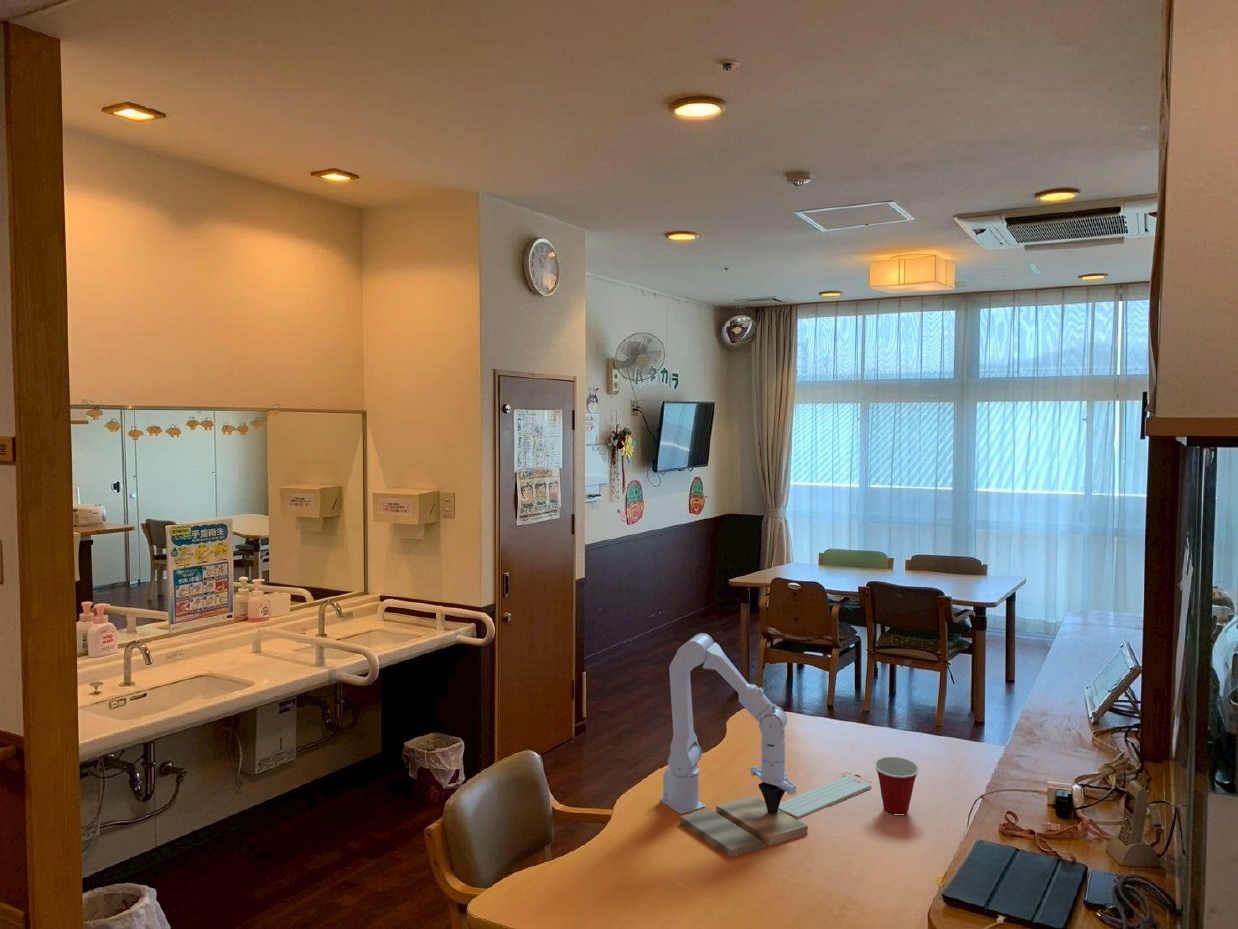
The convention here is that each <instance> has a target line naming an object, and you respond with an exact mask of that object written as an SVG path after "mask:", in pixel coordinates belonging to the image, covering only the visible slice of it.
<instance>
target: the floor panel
mask: <svg viewBox="0 0 1238 929" xmlns="http://www.w3.org/2000/svg"><path fill="white" fill-rule="evenodd" d="M679 824H680V825H681V824H682V825H681V826H683V827H684V828H686V829H687V830H689V829H690V830H691V831H690V830H689V831H690V832H692V833H693V832H694V833H693V834H695V835H696V834H697V836H698V837H699V836H700V837H699V838H701V839H702V840H703V841H705V840H706V841H705V842H707V841H708V842H709V843H708V842H707V843H708V844H709V845H711V846H713V847H714V846H715V847H716V849H717V850H718V849H719V851H720V850H721V851H722V852H721V851H720V852H721V853H722V854H724V853H725V854H724V855H726V856H727V855H728V857H729V856H730V857H731V859H733V858H732V857H734V858H736V857H735V856H736V855H740V856H742V855H741V854H743V855H746V854H748V852H749V853H752V852H755V851H758V850H762V849H764V847H765V848H767V847H768V845H766V844H765V843H763V842H762V841H761V840H760V839H758V838H756V837H755V836H753V835H752V834H750V833H748V832H747V831H745V830H744V829H742V828H740V827H739V826H737V825H735V824H734V823H732V822H731V821H729V820H727V819H726V818H724V817H723V816H721V815H719V814H718V813H716V810H713V809H712V808H703V809H699V810H698V811H697V810H696V811H694V812H693V811H692V812H691V813H690V812H689V813H687V814H686V813H685V814H684V815H680V816H679ZM715 847H714V848H715ZM761 848H762V849H761ZM754 850H755V851H754ZM745 853H746V854H745ZM730 857H729V858H730Z"/></svg>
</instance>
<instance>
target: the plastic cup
mask: <svg viewBox="0 0 1238 929" xmlns="http://www.w3.org/2000/svg"><path fill="white" fill-rule="evenodd" d="M874 767H875V769H876V771H877V777H878V781H879V788H880V795H881V798H882V800H881V801H882V806H883V809H884V810H885V811H884V810H883V811H884V812H886V813H887V812H888V813H887V814H889V813H890V814H889V815H892V814H905V815H907V814H908V811H909V808H910V804H911V800H912V795H913V791H914V790H913V789H914V785H915V781H916V777H917V776H918V775H917V774H918V773H919V772H920V767H919V765H918V764H917V763H915V762H914V761H912V760H910V759H908V758H903V757H899V756H886V757H885V756H884V757H880V758H878V759H877V760H875V761H874ZM906 813H907V814H906Z"/></svg>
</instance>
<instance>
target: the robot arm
mask: <svg viewBox="0 0 1238 929" xmlns="http://www.w3.org/2000/svg"><path fill="white" fill-rule="evenodd" d="M701 664H703V666H702V668H703V669H707V670H708V669H709V670H715V671H716V672H717V673H718V674H719V675H720V676H721V677H722V678H723V679H724V680H725V681H726V682H727V683H728V684H729V685H730V686H731V687H732V688H733V689H734V691H736V692H737V693H738V694H737V695H738V701H739V703H740V704H741V705H742V706H743V708H745V709H746V711H747V712H748V713H749V714H750V715H751V716H752V717H753V719H754V720H755V721H756V722H758V723H759V724H758V729H759V731H760V733H761V752H760V753H761V756H760V758H761V759H760V760H761V761H760V762H761V766H758V765H754V766H751V767H750V775H751V776H753V777H754V776H756V777H757V778H759V779H760V780H761V781H762V782H760V783H758V788H759V790H760V792H761V794H762V796H763V799H764V800H763V801H764V802H765V803H766V807H767V811H768V813H770V814H774V813H777V812H778V808H779V804H780V803H781V801H782V799H783V796H784V794H785V793H786V792H787V795H789V796H792V795H795V794H797V785H796V784H795V783H793V782H792V781H791V780H790V779H789V778H788V773H787V772H786V768H785V767H786V739H785V737H786V735H785V734H786V733H785V727H786V725H787V723H788V716H787V714H786V712H785V711H784V709H783V708H782V707H780V706H777V705H776V704H775V703H773V702H771V700H770V699H769V698H768V697H767V696H766V694H765V693H764V692H765V690H764V689H763V688H762V687H758V686H757V685H756V684H751V683H749V682H748V681H747V680H746V679H745V678H744V676H743V674H741V672H739V670H738V669H737V668H736V666H735V665H734V664H733V663H732V662H731V660H730V659H729V658H728V657H727V655H726V654H725V653H724V651H723V650H722V647H721V646H720V644H718V643H717V642H716V641H715V642H714V639H713V638H712V637H711V635H709V634H707V633H705V632H704V633H703V632H701V633H697V634H695V635H694V636H693V637H691V638H690V639H688V640H687V641H686V642H685V643H684V644H683V645H681V646H680V647H678V649H677V651H676V654H675V655H674V657H673V659H672V661H671V662H670V664H669V669H668V670H669V682H670V683H669V686H670V700H671V701H670V702H671V717H672V733H673V736H672V739H671V744H670V753H669V755H668V758H667V766H668V767H666V769H665V770H664V773H663V775H662V798H660V800H659V801H660V802H661V803H663V804H664V805H666V804H667V805H666V806H668V807H669V808H670V809H672V810H673V811H675V812H677V813H678V814H680V815H682V814H686V813H687V814H688V813H690V812H693V810H694V811H696V810H695V809H698V810H702V809H704V808H703V807H705V808H706V804H705V803H702V802H701V801H700V800H699V798H700V797H699V794H700V793H699V790H700V787H699V786H700V777H699V776H700V769H699V766H698V762H699V761H700V760H701V758H702V753H703V752H702V749H701V747H700V745H699V743H698V736H697V735H696V733H695V730H694V714H693V713H694V712H693V701H692V700H693V698H692V697H693V696H692V685H691V683H692V681H691V671H693V669H694V668H696V667H698V666H700V665H701Z"/></svg>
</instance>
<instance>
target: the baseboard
mask: <svg viewBox="0 0 1238 929" xmlns="http://www.w3.org/2000/svg"><path fill="white" fill-rule="evenodd" d="M846 774H849V775H850V773H848V772H847V771H845V773H841V776H843V777H842V778H840V779H837V780H834V781H832V782H830V783H827V784H824V785H821V786H820V787H817V788H814V789H812V790H810V791H807V792H804V793H803V794H799V795H797V796H795V797H792V798H789V799H787V800H784V801H782V802H780V804H779V808H778V809H779V810H780V811H782V812H784V813H786V814H788V815H789V816H790V815H791V817H793V818H795V819H796V820H798V819H801V818H803V817H805V816H808V815H811V814H812V813H815V812H817V811H819V809H820V810H822V809H824V808H827V807H831V806H833V805H834V804H833V803H836V804H837V803H840V802H842V800H843V801H845V800H846V798H847V799H849V798H852V797H854V796H856V795H855V794H857V793H859V794H861V793H864V792H866V791H868V790H867V789H869V788H871V789H872V785H871V783H872V781H869V780H867V782H869V783H866V782H863V781H861V780H858V779H856V778H854V777H857V778H859V779H862V780H864V781H865V779H864V778H862V776H861V775H859V774H854V775H853V774H852V776H854V777H851V776H845V775H846ZM865 790H866V791H865ZM869 790H870V789H869ZM863 791H864V792H863ZM857 795H858V794H857ZM851 796H852V797H851ZM844 799H845V800H844ZM832 804H833V805H832ZM830 805H831V806H830ZM814 811H815V812H814ZM807 814H808V815H807ZM802 816H803V817H802ZM800 817H801V818H800Z"/></svg>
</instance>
